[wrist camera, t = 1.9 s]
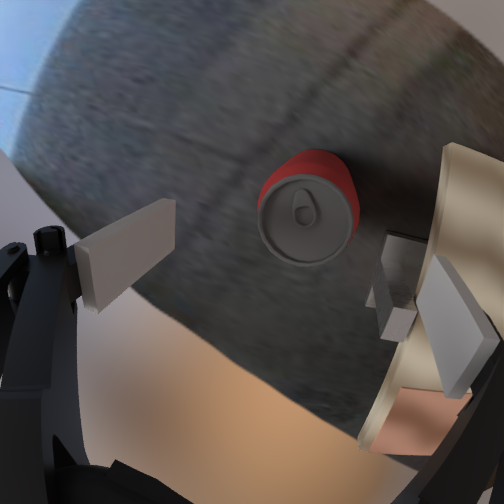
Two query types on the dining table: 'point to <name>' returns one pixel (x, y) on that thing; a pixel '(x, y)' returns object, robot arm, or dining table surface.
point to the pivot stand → (396, 284)
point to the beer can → (309, 209)
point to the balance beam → (416, 342)
